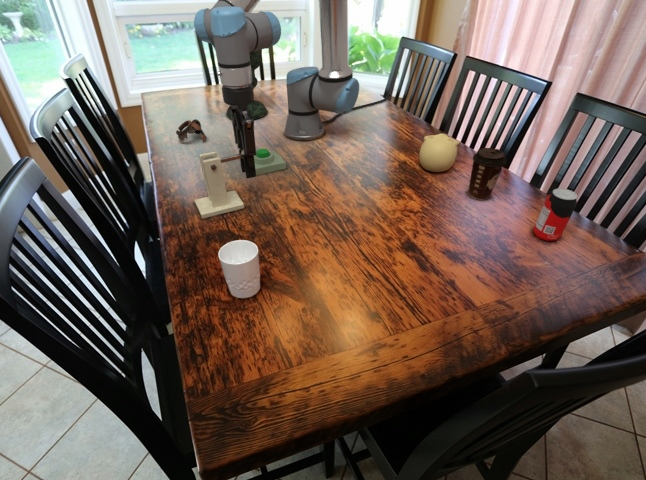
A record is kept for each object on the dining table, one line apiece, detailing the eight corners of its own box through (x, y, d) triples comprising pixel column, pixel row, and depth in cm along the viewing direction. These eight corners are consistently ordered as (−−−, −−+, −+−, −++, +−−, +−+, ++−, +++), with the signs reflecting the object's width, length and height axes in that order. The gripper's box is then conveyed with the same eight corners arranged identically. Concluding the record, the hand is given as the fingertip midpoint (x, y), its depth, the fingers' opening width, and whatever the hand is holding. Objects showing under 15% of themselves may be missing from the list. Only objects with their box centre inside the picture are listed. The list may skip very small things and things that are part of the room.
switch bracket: (235, 193, 113) (227, 146, 104) (244, 208, 107) (236, 158, 98) (195, 203, 109) (182, 154, 100) (202, 218, 103) (189, 168, 94)
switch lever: (251, 156, 106) (249, 145, 104) (255, 160, 103) (253, 149, 101) (205, 167, 102) (202, 156, 100) (208, 172, 99) (205, 160, 97)
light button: (266, 152, 127) (266, 147, 126) (270, 157, 124) (270, 152, 123) (255, 154, 126) (254, 149, 125) (259, 159, 123) (258, 154, 122)
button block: (275, 157, 133) (274, 146, 130) (286, 168, 126) (285, 157, 123) (242, 164, 129) (240, 152, 126) (251, 176, 122) (250, 164, 119)
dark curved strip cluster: (205, 146, 141) (189, 129, 135) (186, 155, 145) (170, 139, 140) (212, 126, 148) (197, 109, 142) (194, 135, 152) (179, 119, 146)
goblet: (282, 111, 169) (277, 33, 150) (249, 126, 155) (239, 42, 135) (245, 102, 178) (235, 28, 159) (210, 117, 164) (195, 37, 144)
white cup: (228, 276, 85) (220, 240, 79) (263, 274, 86) (258, 238, 79) (224, 301, 79) (215, 265, 73) (262, 299, 80) (257, 262, 73)
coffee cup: (494, 190, 114) (508, 148, 105) (494, 204, 108) (509, 161, 99) (464, 186, 116) (475, 144, 107) (462, 199, 110) (474, 156, 101)
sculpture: (455, 163, 128) (463, 131, 121) (449, 178, 119) (456, 145, 112) (422, 157, 131) (427, 126, 124) (413, 172, 123) (418, 139, 116)
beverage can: (557, 246, 93) (579, 203, 85) (529, 238, 95) (548, 196, 88) (560, 233, 97) (581, 191, 89) (534, 225, 99) (552, 184, 92)
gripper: (213, 78, 96) (228, 165, 111) (231, 95, 85) (245, 189, 100) (241, 75, 98) (252, 160, 114) (263, 91, 87) (271, 183, 102)
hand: (249, 173), depth 107 cm, fingers closed on switch lever, 3 cm apart
